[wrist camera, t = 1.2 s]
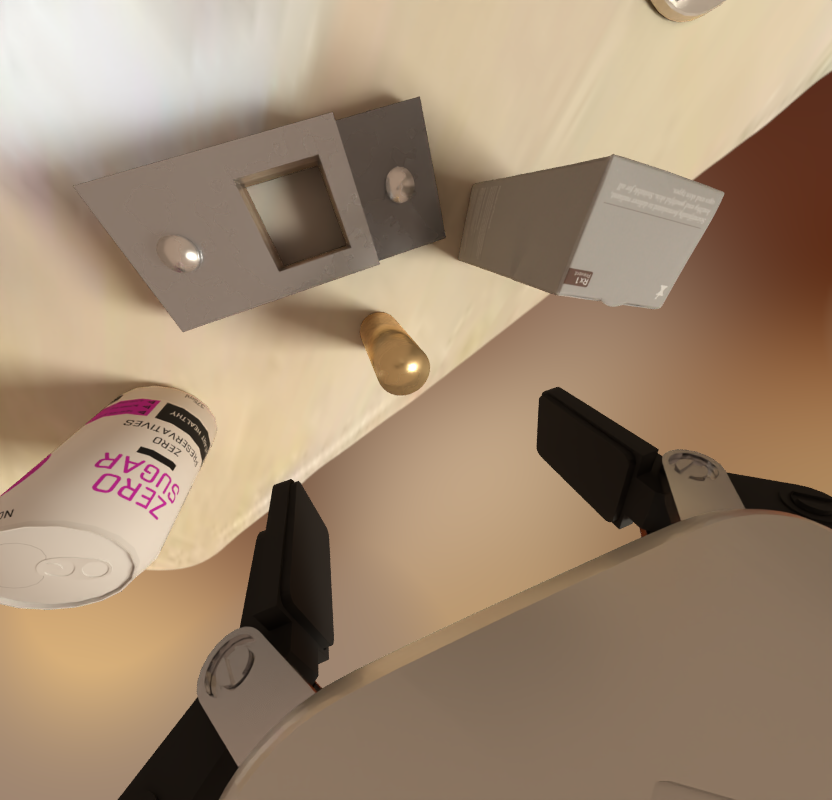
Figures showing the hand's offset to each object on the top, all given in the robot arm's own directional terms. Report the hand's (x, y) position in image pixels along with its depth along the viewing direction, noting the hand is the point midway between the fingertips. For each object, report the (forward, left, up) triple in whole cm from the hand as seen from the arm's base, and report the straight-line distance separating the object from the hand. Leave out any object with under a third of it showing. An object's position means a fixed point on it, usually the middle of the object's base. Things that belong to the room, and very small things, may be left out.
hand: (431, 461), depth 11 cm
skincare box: (-15, -3, -22) cm, 27 cm away
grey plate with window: (+2, -9, -21) cm, 23 cm away
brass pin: (-1, +2, -21) cm, 21 cm away
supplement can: (+21, +3, -22) cm, 30 cm away
